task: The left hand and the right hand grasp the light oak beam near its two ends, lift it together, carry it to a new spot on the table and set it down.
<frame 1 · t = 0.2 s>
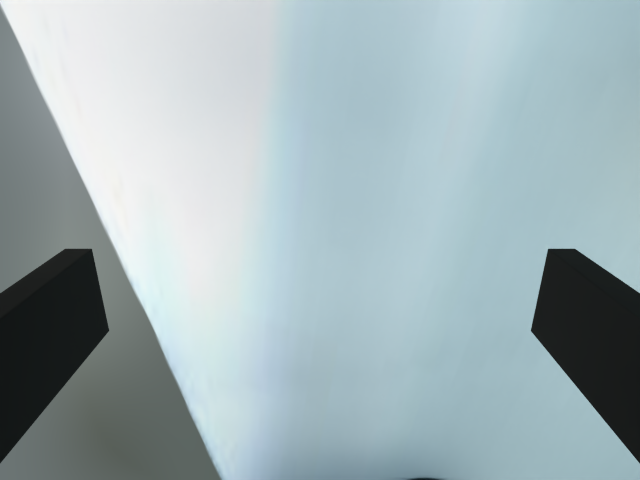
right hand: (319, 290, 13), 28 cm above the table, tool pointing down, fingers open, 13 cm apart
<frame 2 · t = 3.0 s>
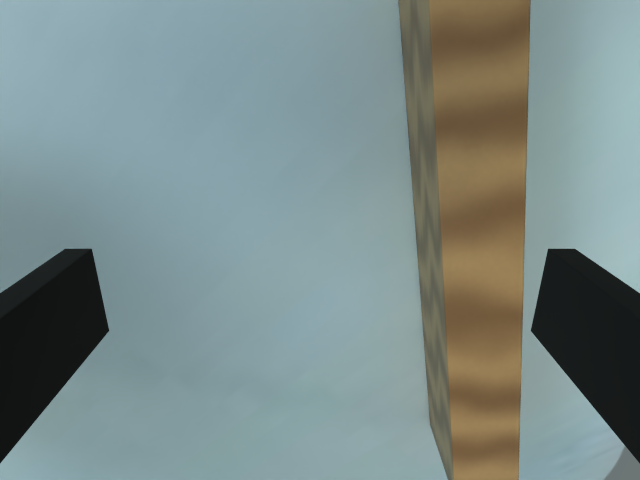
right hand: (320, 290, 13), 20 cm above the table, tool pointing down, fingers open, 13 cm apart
beam: (442, 130, 30), on the table, touching left hand
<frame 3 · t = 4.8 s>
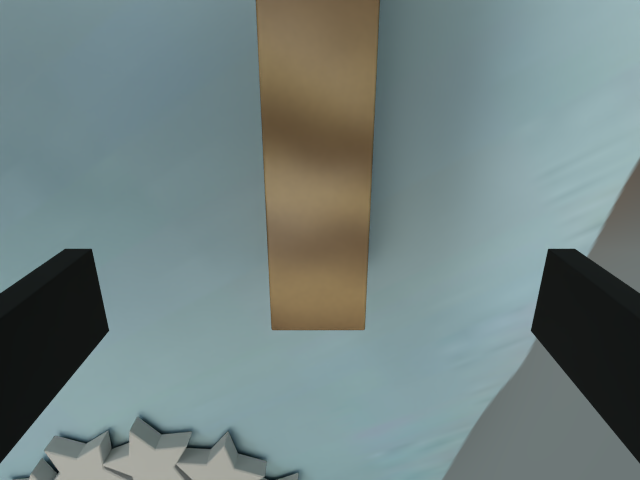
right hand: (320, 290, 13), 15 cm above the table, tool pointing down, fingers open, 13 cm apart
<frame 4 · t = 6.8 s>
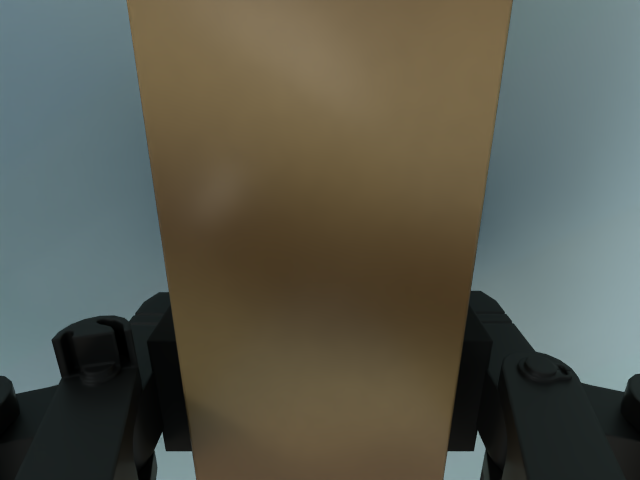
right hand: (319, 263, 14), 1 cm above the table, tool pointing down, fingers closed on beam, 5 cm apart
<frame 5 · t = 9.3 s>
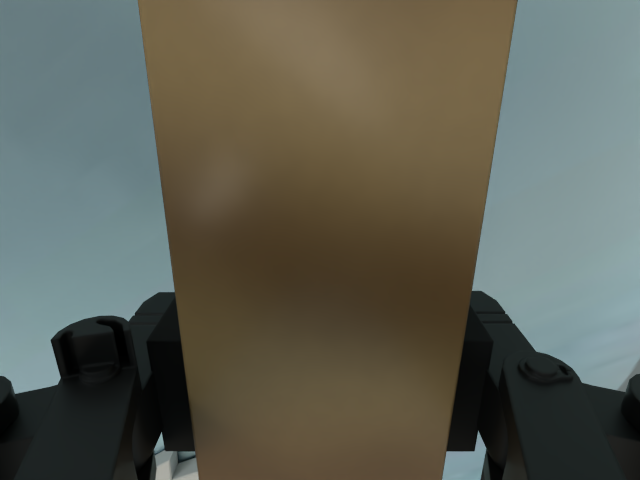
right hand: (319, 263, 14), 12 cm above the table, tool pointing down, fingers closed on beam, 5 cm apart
when the right hand's fingers open (2 cm above the table, at t = 11.9 s): beam drops 1 cm, on the table.
when the left hand's fingers open (4 cm above the table, at t = 12.1 s): beam stays where it is, on the table.
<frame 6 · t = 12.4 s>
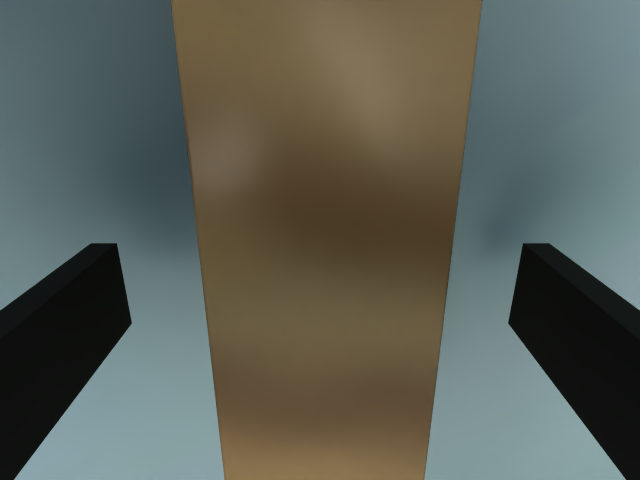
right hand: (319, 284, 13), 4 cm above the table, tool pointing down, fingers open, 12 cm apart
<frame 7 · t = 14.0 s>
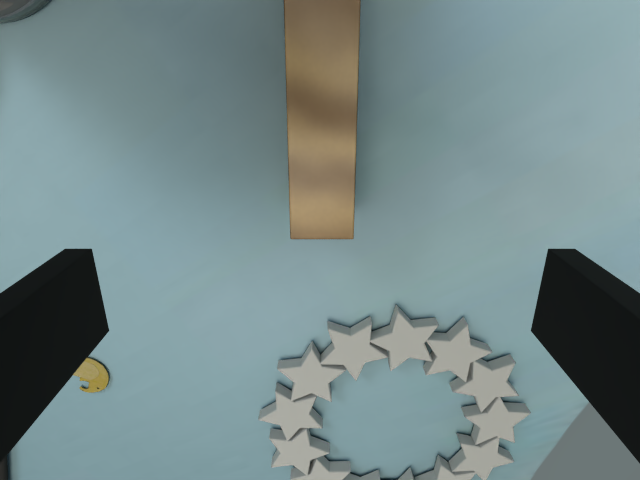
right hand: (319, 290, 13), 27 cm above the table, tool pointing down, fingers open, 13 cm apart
decorative wreath: (390, 416, 49), on the table
bottle opener: (16, 352, 46), on the table
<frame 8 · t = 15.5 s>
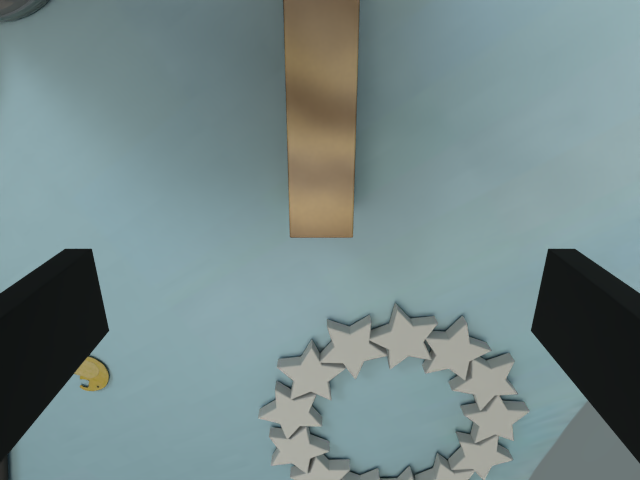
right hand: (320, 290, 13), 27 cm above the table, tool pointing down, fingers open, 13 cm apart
decorative wreath: (390, 414, 49), on the table
bottle opener: (17, 351, 46), on the table
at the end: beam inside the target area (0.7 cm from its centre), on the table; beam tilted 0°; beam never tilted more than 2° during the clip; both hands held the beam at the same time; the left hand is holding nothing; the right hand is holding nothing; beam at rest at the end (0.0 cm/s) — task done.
